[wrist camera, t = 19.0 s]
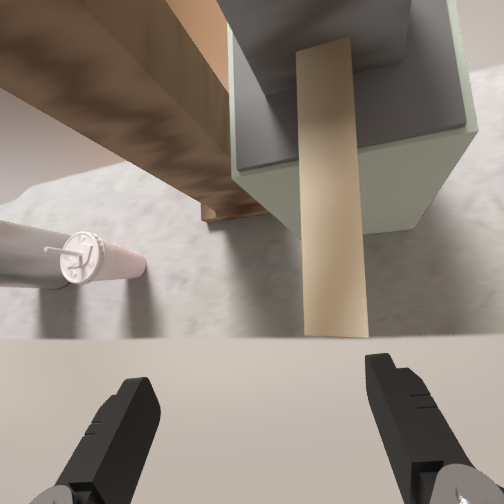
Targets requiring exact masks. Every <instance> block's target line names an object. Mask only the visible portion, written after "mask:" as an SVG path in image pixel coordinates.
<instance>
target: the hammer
mask: <svg viewBox="0 0 504 504" xmlns="http://www.w3.org/2000/svg"><path fill="white" fill-rule="evenodd" d="M411 1H412V0H217V2H218V4H219V6H220V8H221V10H222V12H223V14H224V16H225V18H226V20H227V22H228V24H229V26H230V28H231V30H232V32H233V34H234V36H235V38H236V40H237V42H238V44H239V46H240V48H241V50H242V52H243V54H244V56H245V58H246V60H247V62H248V64H249V66H250V67H251V69H252V71H253V73H254V75H255V77H256V79H257V81H258V83H259V85H260V87H261V89H262V91H263V93H264V95H265V96H266V95H270V94H274V93H278V92H282V91H286V90H290V89H294V88H297V108H298V141H299V174H300V207H301V239H302V272H303V305H304V335H310V336H337V337H364V338H369V329H368V313H367V297H366V281H365V265H364V249H363V233H362V217H361V201H360V185H359V169H358V153H357V137H356V121H355V105H354V89H353V74H354V73H358V72H362V71H366V70H370V69H374V68H378V67H382V66H386V65H390V64H394V63H398V62H402V61H403V55H404V49H405V42H406V35H407V28H408V21H409V15H410V8H411Z"/></svg>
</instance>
